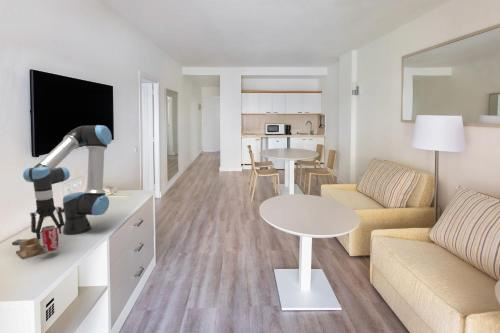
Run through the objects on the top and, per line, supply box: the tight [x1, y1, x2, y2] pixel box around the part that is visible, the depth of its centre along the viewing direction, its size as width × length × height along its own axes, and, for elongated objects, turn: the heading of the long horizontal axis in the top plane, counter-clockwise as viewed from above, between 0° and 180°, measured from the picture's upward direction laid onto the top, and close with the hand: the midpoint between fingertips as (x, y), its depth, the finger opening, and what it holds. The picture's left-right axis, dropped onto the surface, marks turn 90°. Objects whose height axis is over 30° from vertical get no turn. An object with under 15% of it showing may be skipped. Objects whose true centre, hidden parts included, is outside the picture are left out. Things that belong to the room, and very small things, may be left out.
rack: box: [15, 236, 47, 260], centre depth 179 cm, size 14×12×6 cm
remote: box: [11, 238, 28, 246], centre depth 191 cm, size 16×4×2 cm, turn 86°
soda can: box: [40, 225, 60, 253], centre depth 172 cm, size 7×7×12 cm
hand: (50, 242), depth 172 cm, fingers closed on soda can, 7 cm apart
